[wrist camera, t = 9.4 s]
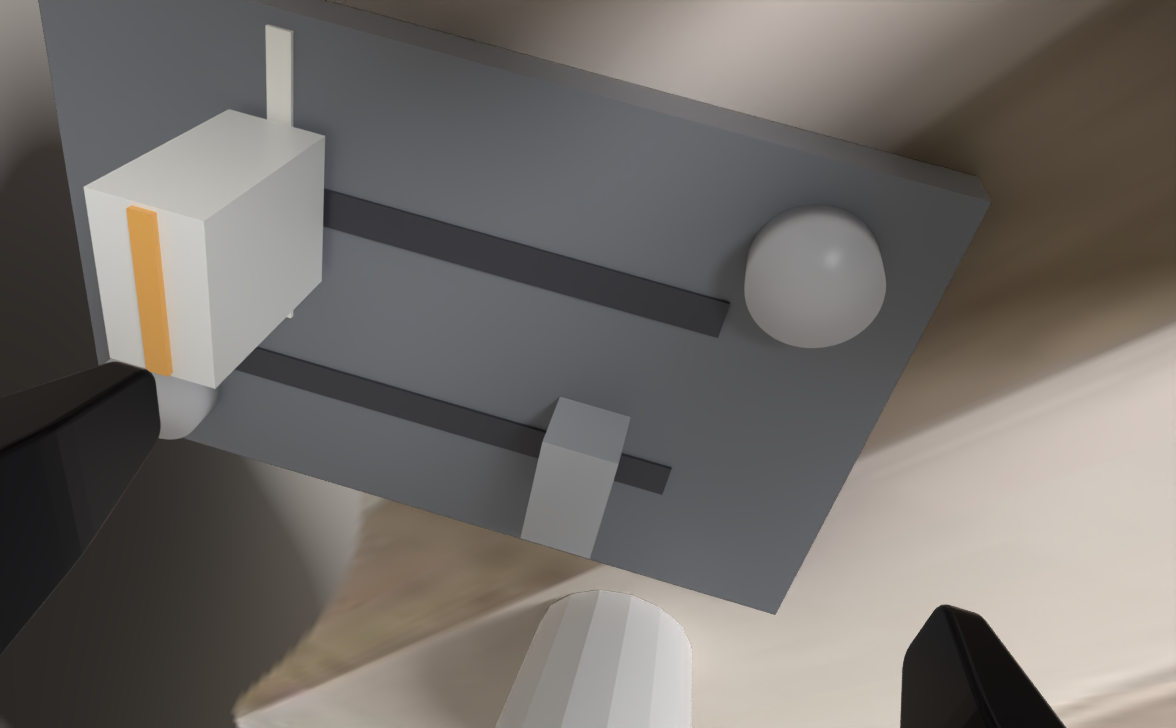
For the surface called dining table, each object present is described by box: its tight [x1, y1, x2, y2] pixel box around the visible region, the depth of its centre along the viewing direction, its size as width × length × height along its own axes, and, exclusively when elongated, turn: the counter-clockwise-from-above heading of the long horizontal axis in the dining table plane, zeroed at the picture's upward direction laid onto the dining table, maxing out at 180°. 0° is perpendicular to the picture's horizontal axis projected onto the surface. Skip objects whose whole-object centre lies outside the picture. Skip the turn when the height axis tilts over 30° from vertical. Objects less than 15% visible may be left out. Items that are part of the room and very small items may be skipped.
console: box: [38, 0, 991, 615], centre depth 22 cm, size 22×14×4 cm, turn 78°
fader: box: [84, 109, 325, 389], centre depth 19 cm, size 2×4×5 cm, turn 168°
